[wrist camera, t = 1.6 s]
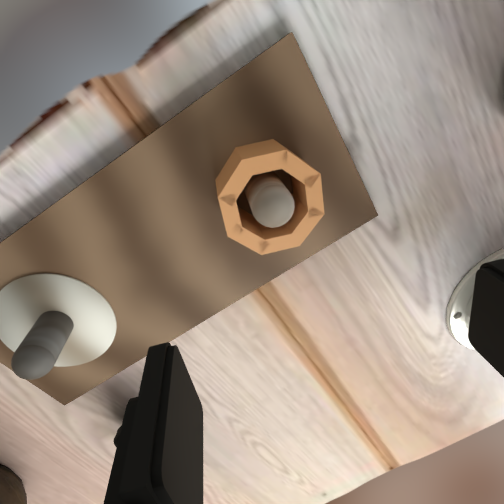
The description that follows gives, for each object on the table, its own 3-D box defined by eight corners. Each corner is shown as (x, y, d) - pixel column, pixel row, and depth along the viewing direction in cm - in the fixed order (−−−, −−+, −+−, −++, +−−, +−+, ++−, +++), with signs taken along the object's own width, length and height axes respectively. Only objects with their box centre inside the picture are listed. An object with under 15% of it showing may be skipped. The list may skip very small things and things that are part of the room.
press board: (288, 34, 21) (319, 16, 15) (372, 210, 27) (416, 244, 21) (-76, 297, 25) (-154, 358, 20) (68, 396, 32) (39, 464, 26)
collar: (299, 132, 22) (317, 142, 19) (309, 217, 25) (327, 239, 22) (208, 153, 22) (209, 166, 19) (229, 236, 25) (233, 261, 22)
